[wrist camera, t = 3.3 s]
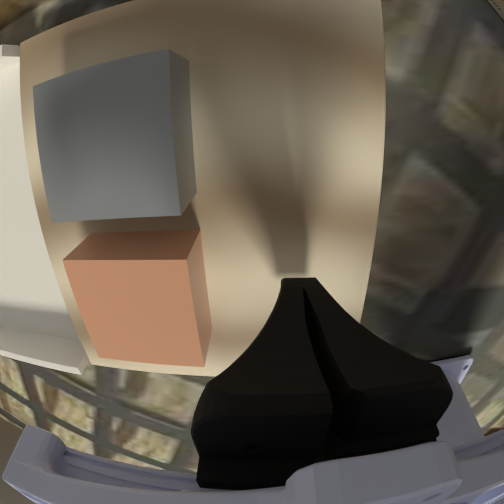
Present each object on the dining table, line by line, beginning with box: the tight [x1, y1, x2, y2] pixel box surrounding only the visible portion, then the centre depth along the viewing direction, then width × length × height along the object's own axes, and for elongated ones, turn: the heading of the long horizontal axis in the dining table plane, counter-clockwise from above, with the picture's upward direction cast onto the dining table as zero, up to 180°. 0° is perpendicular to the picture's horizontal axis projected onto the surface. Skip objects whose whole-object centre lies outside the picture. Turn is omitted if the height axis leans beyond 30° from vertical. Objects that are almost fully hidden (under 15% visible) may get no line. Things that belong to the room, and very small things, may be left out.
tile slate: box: [33, 49, 197, 223], centre depth 9 cm, size 5×5×2 cm
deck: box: [20, 0, 386, 376], centre depth 13 cm, size 18×15×2 cm
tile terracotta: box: [62, 230, 212, 367], centre depth 12 cm, size 5×5×2 cm
